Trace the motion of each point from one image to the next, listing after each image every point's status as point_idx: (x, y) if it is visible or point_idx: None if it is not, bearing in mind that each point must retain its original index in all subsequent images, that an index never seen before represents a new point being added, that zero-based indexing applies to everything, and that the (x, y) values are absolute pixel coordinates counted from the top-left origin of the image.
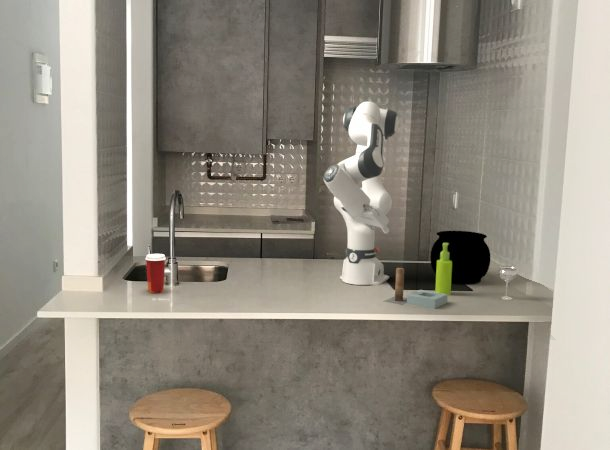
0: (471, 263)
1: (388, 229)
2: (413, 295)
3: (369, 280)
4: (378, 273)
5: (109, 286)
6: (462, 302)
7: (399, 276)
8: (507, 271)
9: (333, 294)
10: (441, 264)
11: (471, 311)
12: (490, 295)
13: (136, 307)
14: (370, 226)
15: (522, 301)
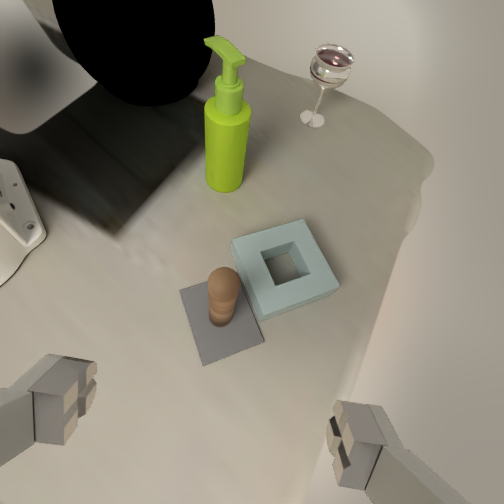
0: (205, 45)
1: (389, 421)
2: (276, 302)
3: (14, 252)
4: (12, 206)
5: None
6: (303, 198)
7: (233, 302)
8: (345, 71)
9: (10, 464)
10: (236, 131)
11: (373, 237)
12: (282, 121)
13: None
14: (56, 433)
15: (342, 115)
